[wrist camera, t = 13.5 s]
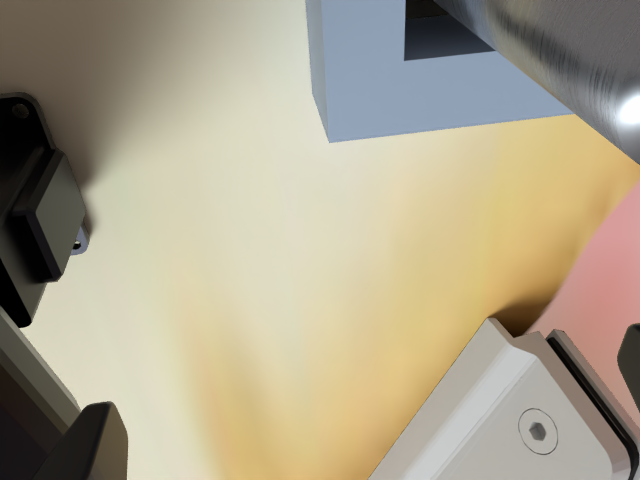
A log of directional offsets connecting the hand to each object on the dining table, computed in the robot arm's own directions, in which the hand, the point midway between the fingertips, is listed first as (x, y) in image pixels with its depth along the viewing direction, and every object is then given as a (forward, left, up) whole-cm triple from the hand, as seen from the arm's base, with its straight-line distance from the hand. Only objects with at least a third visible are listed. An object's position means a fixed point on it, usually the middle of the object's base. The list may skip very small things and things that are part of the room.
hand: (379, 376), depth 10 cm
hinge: (+8, -22, -13) cm, 27 cm away
